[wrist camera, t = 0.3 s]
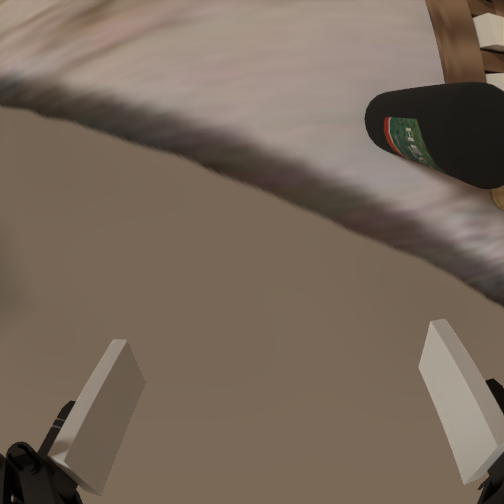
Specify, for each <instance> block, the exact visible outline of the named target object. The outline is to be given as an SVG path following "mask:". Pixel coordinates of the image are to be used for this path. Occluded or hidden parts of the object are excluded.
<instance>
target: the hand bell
mask: <svg viewBox="0 0 504 504" xmlns="http://www.w3.org/2000/svg"><path fill="white" fill-rule="evenodd" d="M491 195H492V198H493V201H494V203H495V204H496V206H497V207H498V208H500V209H501V210H504V185H503V186H501V187H499V188H496V189H491Z"/></svg>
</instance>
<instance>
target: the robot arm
mask: <svg viewBox="0 0 504 504" xmlns="http://www.w3.org/2000/svg"><path fill="white" fill-rule="evenodd" d="M419 370H420V372H421V374H422V376H423V379H424V381H425V383H426V386H427V388H428V390H429V393H430V395H431V397H432V400H433V402H434V404H435V407H436V409H437V412H438V414H439V417H440V419H441V422H442V424H443V427H444V429H445V432H446V435H447V438H448V440H449V443H450V445H451V448H452V451H453V454H454V457H455V460H456V462H457V466H458V469H459V471H460V475H461V478H462V481H463V483H464V484H467V483H469V482H472V481H474V480H477V479H479V478H481V477H482V475H484V474H485V473H486V471H488V473H489V477H488V478H487V479H486V480H485V481H484V482H483V483H482V484H481V485H480V487H479V488H478V489H479V490H481V488H483V487H484V488H483V491H482V493H481V496H480V498H479V501H478V503H477V504H504V388H503V387H502V385H500V384H499V383H498V382H497V381H496V380H494V379H489V380H486V381H485V380H484V379H483V377H482V375H481V374H480V372H479V370H478V369H477V367H476V365H475V364H474V362H473V360H472V359H471V357H470V355H469V354H468V352H467V351H466V349H465V348H464V346H463V344H462V343H461V341H460V340H459V338H458V337H457V335H456V334H455V332H454V331H453V329H452V328H451V326H450V325H449V323H448V322H447V320H446V319H440V320H434V321H431V322H430V326H429V330H428V334H427V338H426V342H425V346H424V349H423V353H422V356H421V360H420V364H419ZM145 383H146V381H145V379H144V377H143V375H142V373H141V370H140V368H139V366H138V364H137V362H136V359H135V357H134V354H133V352H132V350H131V347H130V345H129V342H128V340H118V339H113V341H112V342H111V344H110V345H109V347H108V349H107V350H106V352H105V354H104V355H103V357H102V358H101V360H100V362H99V363H98V365H97V367H96V369H95V370H94V372H93V374H92V375H91V377H90V379H89V380H88V382H87V384H86V385H85V387H84V389H83V391H82V392H81V394H80V396H79V398H78V399H77V401H76V402H75V401H70V402H69V403H67V404H66V405H65V406H64V407H63V408H62V409H61V411H60V413H59V414H58V416H57V420H55V421H54V423H53V427H51V429H50V430H49V432H48V434H47V436H46V438H45V440H44V441H43V443H42V445H41V447H40V449H39V451H38V452H37V453H36V452H35V451H34V450H33V448H32V447H30V445H29V444H27V443H25V442H17V443H15V444H13V445H12V446H11V447H10V448H9V449H8V451H7V454H6V458H5V457H4V456H3V455H2V454H0V504H83V503H82V501H81V498H80V495H79V493H78V492H77V490H76V488H77V486H78V485H79V486H80V487H81V488H82V489H84V490H85V491H87V492H90V493H93V494H96V495H99V496H101V495H102V492H103V489H104V486H105V484H106V481H107V478H108V476H109V473H110V470H111V468H112V465H113V463H114V460H115V457H116V455H117V452H118V450H119V447H120V445H121V442H122V439H123V437H124V434H125V432H126V429H127V427H128V424H129V422H130V419H131V417H132V415H133V412H134V409H135V407H136V405H137V402H138V400H139V398H140V395H141V393H142V390H143V388H144V386H145ZM11 495H12V496H13V497H14V499H13V502H11Z"/></svg>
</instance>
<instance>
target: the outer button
mask: <svg viewBox="0 0 504 504" xmlns="http://www.w3.org/2000/svg"><path fill="white" fill-rule="evenodd" d="M485 77H486V83H488V84H493V85H494V86H496V87H498V88H500V89H501V90H503V91H504V73H495V74H485Z"/></svg>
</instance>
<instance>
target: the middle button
mask: <svg viewBox="0 0 504 504" xmlns="http://www.w3.org/2000/svg"><path fill="white" fill-rule="evenodd" d="M472 20H473V23H474V27H475V31H476V35H477V39H478V43H479V47H480V50H484V51H490V52H502V51H504V17H501V16H498V15H494V14H490V13H486V14H483V15H480V16H477V17H475V18H472Z"/></svg>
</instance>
